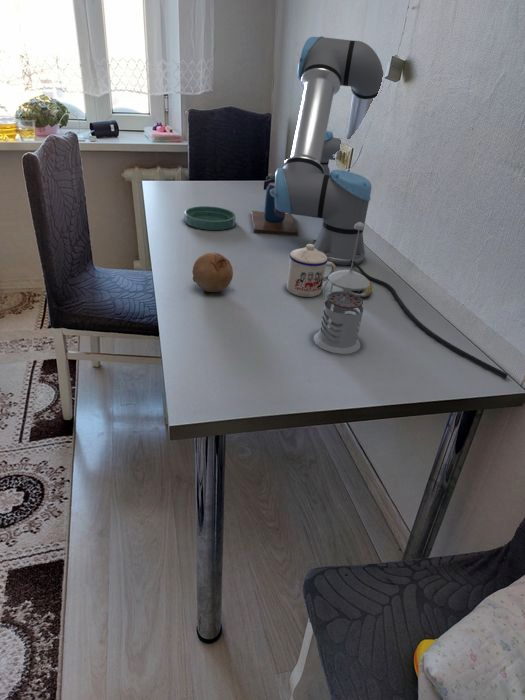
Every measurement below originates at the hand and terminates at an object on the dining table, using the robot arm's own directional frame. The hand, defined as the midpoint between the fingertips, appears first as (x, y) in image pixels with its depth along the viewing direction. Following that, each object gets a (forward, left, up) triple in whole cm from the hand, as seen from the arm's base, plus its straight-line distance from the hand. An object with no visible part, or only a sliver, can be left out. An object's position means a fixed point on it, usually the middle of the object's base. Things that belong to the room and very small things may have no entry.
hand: (283, 189), depth 165 cm
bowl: (-7, +23, -11) cm, 27 cm away
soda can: (-4, +2, -10) cm, 11 cm away
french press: (-79, -5, -11) cm, 80 cm away
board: (-4, +2, -11) cm, 12 cm away
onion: (-58, +21, -11) cm, 63 cm away
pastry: (-55, -15, -9) cm, 57 cm away
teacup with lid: (-55, -3, -11) cm, 56 cm away
